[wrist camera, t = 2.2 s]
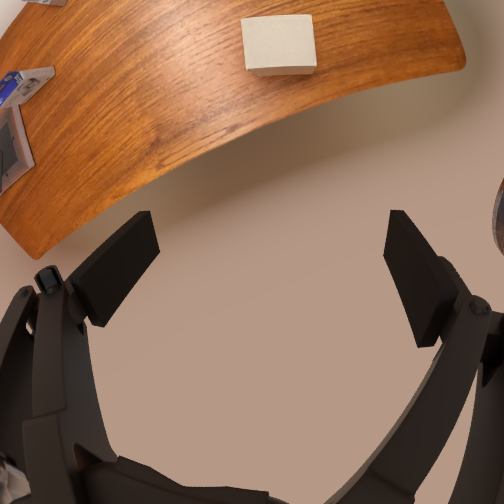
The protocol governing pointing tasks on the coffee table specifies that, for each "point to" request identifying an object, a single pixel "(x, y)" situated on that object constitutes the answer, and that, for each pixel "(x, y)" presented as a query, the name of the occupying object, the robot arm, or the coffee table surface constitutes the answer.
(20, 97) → the ink box
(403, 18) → the coffee table surface
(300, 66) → the box
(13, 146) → the picture frame
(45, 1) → the lighter
